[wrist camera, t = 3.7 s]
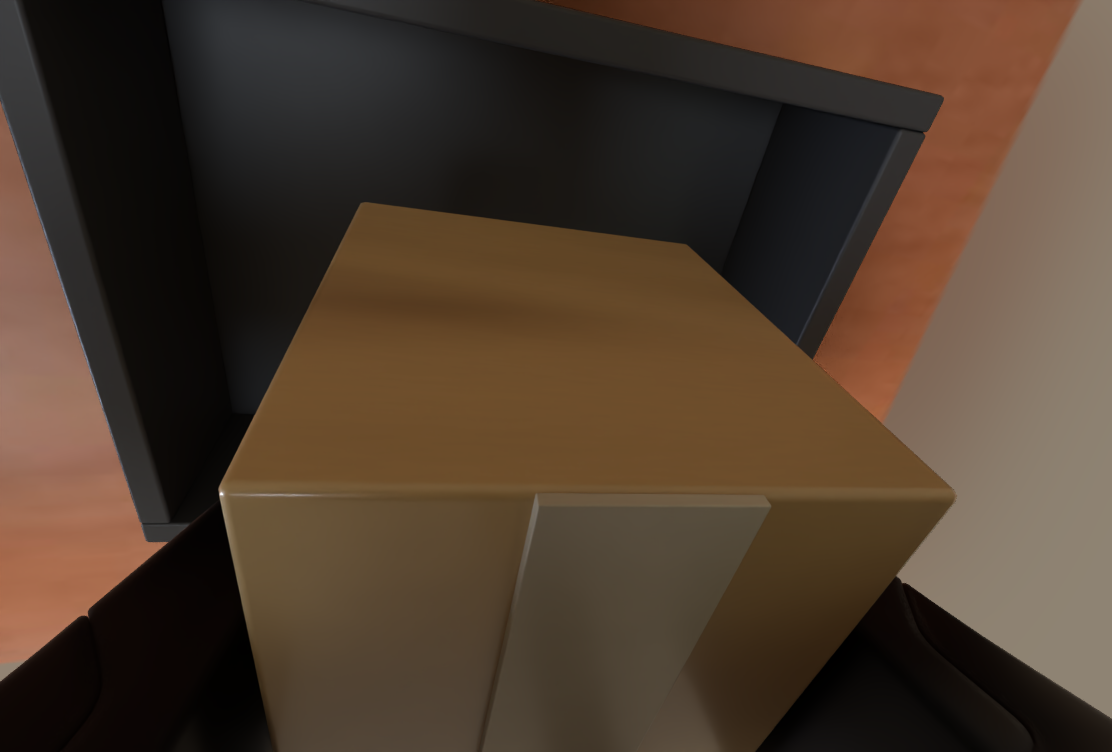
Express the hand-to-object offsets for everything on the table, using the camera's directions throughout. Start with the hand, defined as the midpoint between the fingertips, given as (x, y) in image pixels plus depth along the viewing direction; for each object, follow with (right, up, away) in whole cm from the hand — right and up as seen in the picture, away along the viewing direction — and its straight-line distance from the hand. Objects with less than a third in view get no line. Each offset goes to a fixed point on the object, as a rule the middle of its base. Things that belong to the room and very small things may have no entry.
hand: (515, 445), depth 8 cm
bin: (-1, +4, +6) cm, 8 cm away
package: (0, +1, +1) cm, 1 cm away
